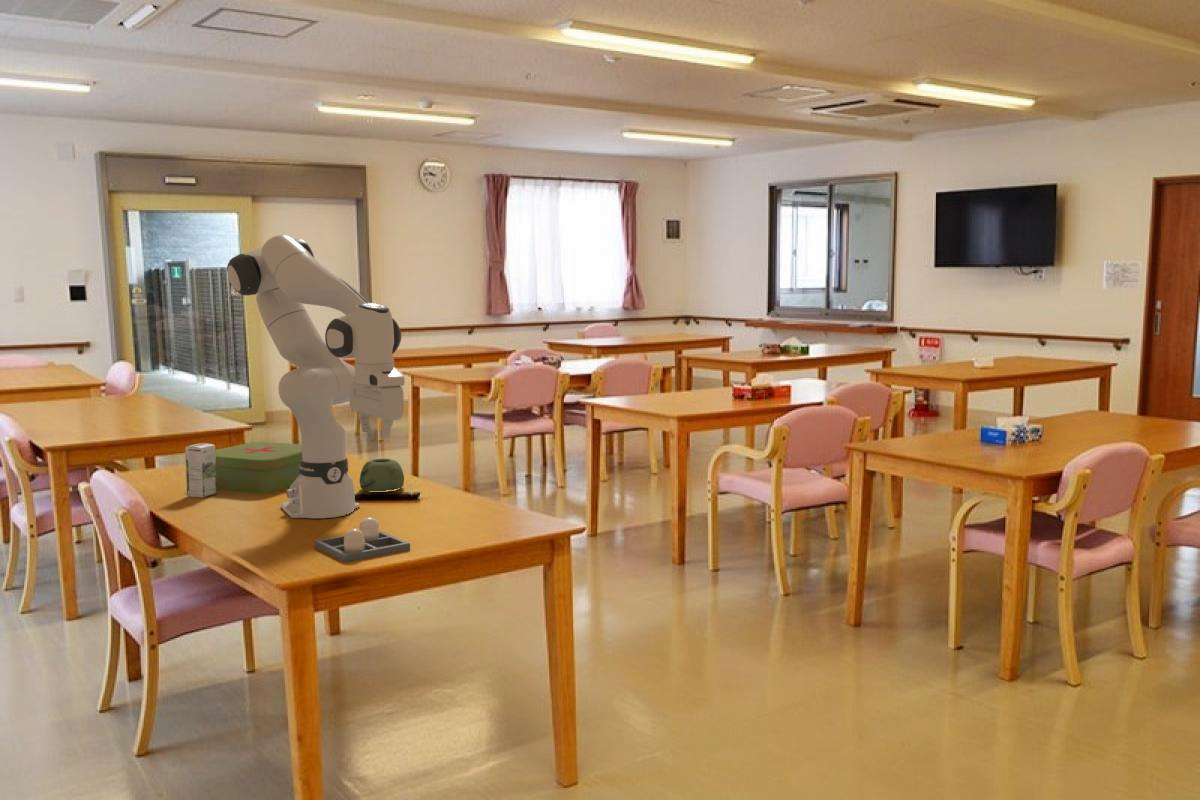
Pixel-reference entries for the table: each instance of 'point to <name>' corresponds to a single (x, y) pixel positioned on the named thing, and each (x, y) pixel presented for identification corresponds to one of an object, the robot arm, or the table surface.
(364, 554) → the carton
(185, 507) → the table surface
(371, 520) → the egg
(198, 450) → the syrup box
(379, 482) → the green pot
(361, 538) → the resting egg
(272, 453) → the first aid kit
